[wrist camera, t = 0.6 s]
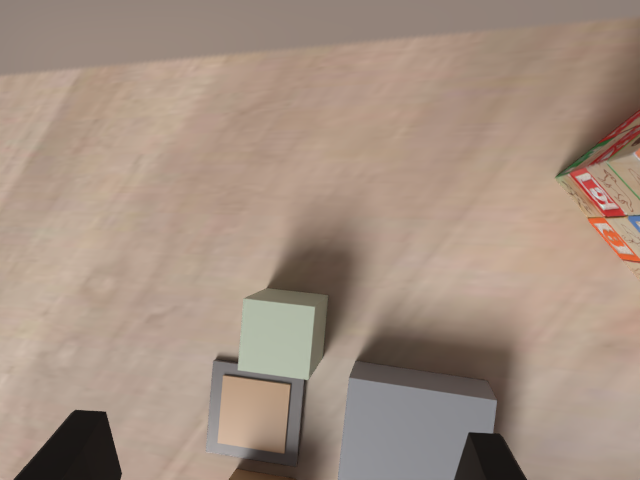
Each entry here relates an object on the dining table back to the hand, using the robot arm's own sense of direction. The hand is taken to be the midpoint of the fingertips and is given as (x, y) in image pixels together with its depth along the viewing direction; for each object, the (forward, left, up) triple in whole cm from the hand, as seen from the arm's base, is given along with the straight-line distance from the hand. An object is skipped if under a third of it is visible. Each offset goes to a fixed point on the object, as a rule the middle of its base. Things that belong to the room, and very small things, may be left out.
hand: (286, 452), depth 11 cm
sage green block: (-2, +5, -23) cm, 24 cm away
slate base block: (-8, -3, -23) cm, 25 cm away
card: (-8, +7, -23) cm, 25 cm away
